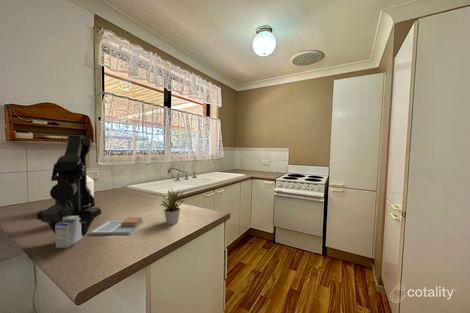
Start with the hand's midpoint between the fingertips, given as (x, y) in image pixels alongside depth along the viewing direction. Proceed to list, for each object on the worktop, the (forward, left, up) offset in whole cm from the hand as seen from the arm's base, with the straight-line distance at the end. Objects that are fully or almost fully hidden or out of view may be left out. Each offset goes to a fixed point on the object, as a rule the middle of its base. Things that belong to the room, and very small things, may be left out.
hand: (70, 236), depth 69 cm
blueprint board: (+10, +12, -2) cm, 16 cm away
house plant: (+33, +18, -2) cm, 38 cm away
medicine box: (0, 0, -3) cm, 3 cm away
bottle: (-25, +37, -2) cm, 45 cm away
